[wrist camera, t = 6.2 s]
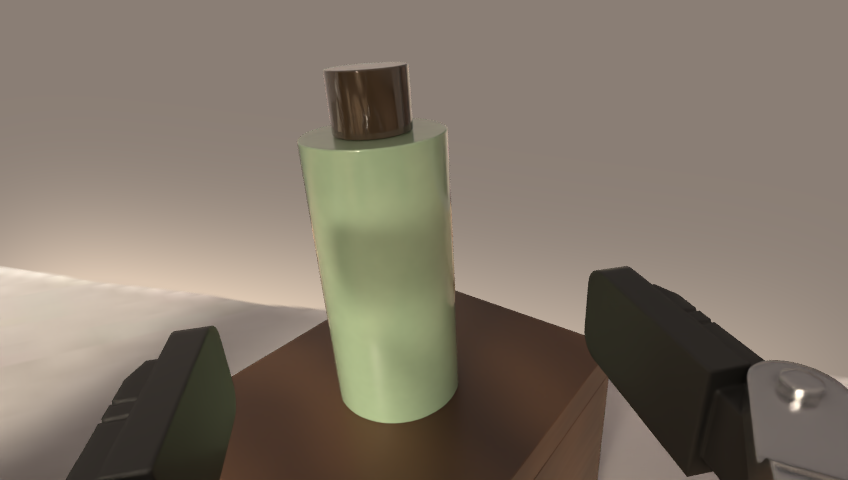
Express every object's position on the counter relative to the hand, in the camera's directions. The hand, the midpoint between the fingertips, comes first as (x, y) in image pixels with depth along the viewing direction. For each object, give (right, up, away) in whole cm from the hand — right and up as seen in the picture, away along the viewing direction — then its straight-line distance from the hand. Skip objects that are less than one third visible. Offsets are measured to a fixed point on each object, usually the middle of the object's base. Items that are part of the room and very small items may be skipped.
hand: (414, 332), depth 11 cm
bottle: (-1, -4, +9) cm, 10 cm away
